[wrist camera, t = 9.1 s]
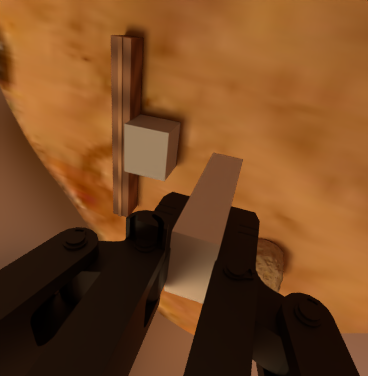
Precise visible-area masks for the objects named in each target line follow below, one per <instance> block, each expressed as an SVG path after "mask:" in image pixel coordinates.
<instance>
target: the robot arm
mask: <svg viewBox="0 0 368 376" xmlns="http://www.w3.org/2000/svg"><path fill="white" fill-rule="evenodd" d="M242 162H243V159H239V158H235V157H230V156H226V155H222V154H217V153H213V154H212V156H211V158H210V160H209V162H208V164H207V166H206V168H205V169H204V171H203V173H202V175H201V177H200V179H199V181H198V183H197V185H196V186H195V188H194V190H193V192H192V194H191V196H187V195H183V194H179V193H175V192H171V193H169V194H167V195H166V196H164V197H163V198H162V200H161V201H160V203H159V205H158V206H157V207H156V208H155V211H148V210H143V211H137V212H134V213H131V214H130V215H129V216H128V217H126V239H125V240H124V241H115V242H112V241H98V237H97V234H96V233H95V232H94V231H92V230H90V229H87V228H79V227H76V228H71V229H67V230H65V231H63V232H60V233H59V234H57V235H56V236H54V237H53V238H51V239H49V240H48V241H46V242H44V243H43V244H41V245H40V246H38V247H36V248H35V249H33V250H31V251H30V252H28V253H27V254H25V255H23V256H22V257H20V258H18V259H17V260H15V261H14V262H12V263H10V264H9V265H8V266H5V267H4V268H2V269H1V270H0V376H128V375H129V373H130V370H131V368H132V365H133V363H134V361H135V359H136V356H137V354H138V352H139V349H140V347H141V345H142V342H143V340H144V338H145V335H146V333H147V331H148V328H149V326H150V324H151V321H152V319H153V317H154V314H155V312H156V310H157V308H158V305H159V301H160V294H161V291H162V289H163V287H164V285H165V289H164V291H167V292H170V293H173V294H176V295H179V296H182V297H185V298H188V299H191V300H194V301H197V302H200V303H203V306H202V310H201V313H200V317H199V320H198V324H197V328H196V331H195V335H194V339H193V343H192V346H191V350H190V353H189V357H188V361H187V364H186V368H185V372H184V375H183V376H251V368H252V359H253V360H254V361H255V362H256V365H257V371H258V376H360V375H359V373H358V371H357V369H356V366H355V365H354V362H353V360H352V358H351V355H350V353H349V351H348V349H347V347H346V344H345V342H344V340H343V338H342V336H341V334H340V331H339V329H338V327H337V325H336V323H335V320H334V318H333V316H332V315H331V313H330V312H329V310H328V309H327V308H326V307H325V306H324V305H323V304H322V303H321V302H320V301H319V300H317V299H315V298H313V297H312V296H310V295H307V294H303V293H291V294H289V295H287V296H285V297H284V296H283V295H281V294H279V293H278V292H276V291H274V290H273V289H271V288H270V287H268V286H267V285H266V284H265V283H264V282H263V281H262V280H261V278H260V277H259V276H258V273H257V271H256V257H257V245H258V234H259V222H260V221H259V219H258V217H257V215H256V213H255V212H251V211H247V210H243V209H240V208H236V207H232V206H231V204H232V201H233V197H234V193H235V189H236V185H237V181H238V177H239V173H240V169H241V165H242Z"/></svg>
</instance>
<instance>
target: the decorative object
mask: <svg viewBox="0 0 368 376" xmlns="http://www.w3.org/2000/svg"><path fill="white" fill-rule="evenodd" d="M283 266H284V263H283V252H282V251H281V250H280V248H279V247H278V246H277V245H275V244H273V243H271V242H270V241H267V240H265V239H258V245H257V257H256V271H257V273H258V276H259V277H260V278H261V280H262V281H263V282H264V283H265V284H266V285H267V286H268V287H270V288H271V289H273V290H274V291H276V292H279V290H280V284H281V282H282V280H283V272H284V271H283Z"/></svg>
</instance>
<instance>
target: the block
mask: <svg viewBox="0 0 368 376" xmlns="http://www.w3.org/2000/svg"><path fill="white" fill-rule="evenodd" d="M180 123H181V122H176V121H171V120H166V119H161V118H157V117H152V116H147V115H142V114H140V115H139V116H137V117H135V118H133V119H132V120H130V121H128V122H127V123H125V124H124V171H125V172H129V173H133V174H137V175H141V176H145V177H149V178H153V179H158V180H162V181H165V180H166V179H167V177H168V176H169V175H170V173H171V172H172V171H173V169H174V168H175V167H176V160H177V151H178V142H179V132H180Z"/></svg>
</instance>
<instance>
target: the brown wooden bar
mask: <svg viewBox="0 0 368 376" xmlns="http://www.w3.org/2000/svg"><path fill="white" fill-rule="evenodd" d="M142 58H143V38H139V37H132V36H126V35H111V82H112V149H113V213H115V214H118V216H125V217H128V216H129V215H130V214H131V213H132V212H133V210H134V209H135V208H136V207H137V187H138V175H137V174H133V173H129V172H125V171H124V124H125V123H127V122H128V121H130V120H132V119H133V118H135V117H137V116H139V115H140V110H141V84H142Z"/></svg>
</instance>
